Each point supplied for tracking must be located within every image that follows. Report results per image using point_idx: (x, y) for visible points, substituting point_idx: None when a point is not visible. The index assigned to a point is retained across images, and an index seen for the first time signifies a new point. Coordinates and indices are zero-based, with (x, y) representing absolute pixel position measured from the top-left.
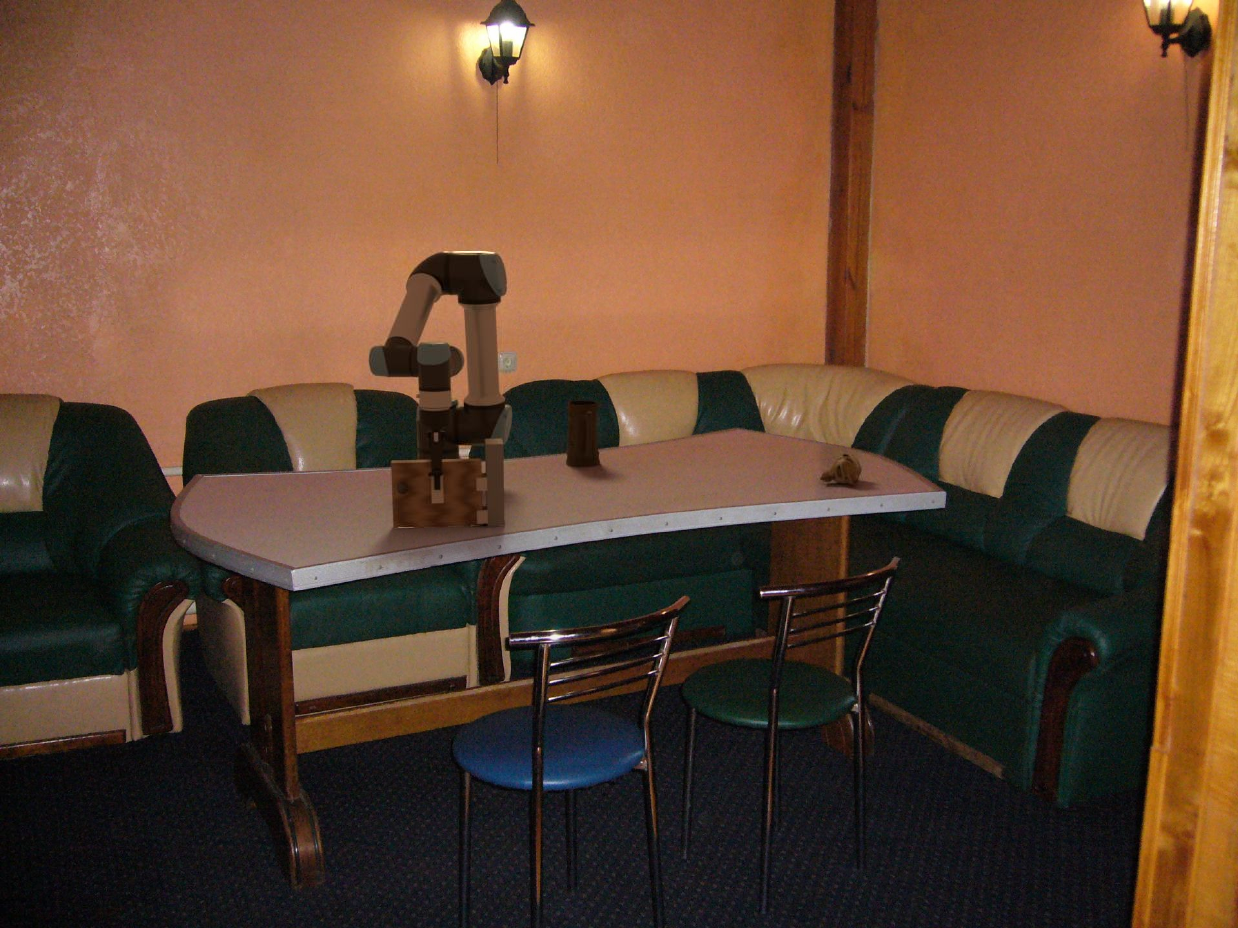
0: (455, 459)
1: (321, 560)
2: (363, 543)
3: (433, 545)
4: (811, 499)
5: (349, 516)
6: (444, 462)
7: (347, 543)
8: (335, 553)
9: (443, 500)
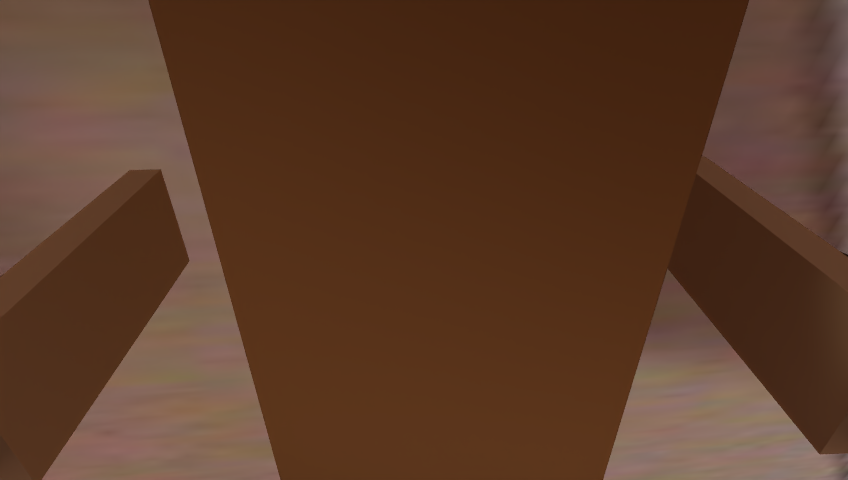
0: (309, 239)
1: (806, 474)
2: (652, 400)
3: (832, 141)
4: None
5: (225, 471)
6: (597, 452)
7: (631, 440)
8: (745, 454)
9: (718, 166)
